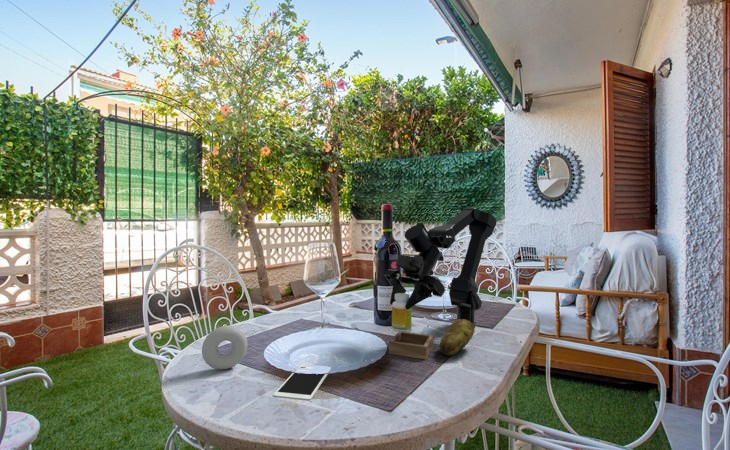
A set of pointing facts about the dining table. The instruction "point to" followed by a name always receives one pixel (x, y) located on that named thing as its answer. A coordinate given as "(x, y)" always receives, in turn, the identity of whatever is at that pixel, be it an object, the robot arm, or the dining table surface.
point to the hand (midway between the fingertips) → (398, 306)
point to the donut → (229, 359)
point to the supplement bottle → (401, 313)
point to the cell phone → (300, 385)
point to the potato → (456, 337)
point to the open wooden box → (411, 345)
